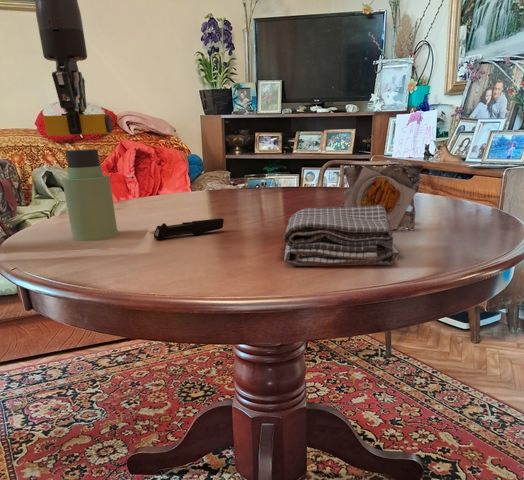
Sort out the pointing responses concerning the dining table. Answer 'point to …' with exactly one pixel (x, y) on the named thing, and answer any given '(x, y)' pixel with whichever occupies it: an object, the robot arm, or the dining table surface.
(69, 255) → the dining table surface
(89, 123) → the bar
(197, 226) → the electric trimmer
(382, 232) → the towel
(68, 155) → the bottle
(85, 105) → the robot arm
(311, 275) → the dining table surface
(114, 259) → the dining table surface
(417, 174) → the meal
